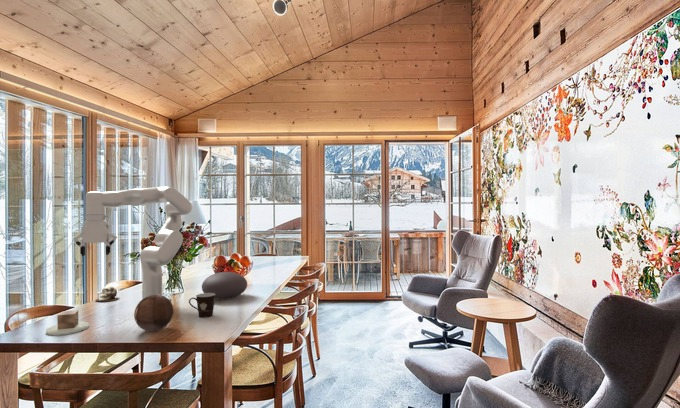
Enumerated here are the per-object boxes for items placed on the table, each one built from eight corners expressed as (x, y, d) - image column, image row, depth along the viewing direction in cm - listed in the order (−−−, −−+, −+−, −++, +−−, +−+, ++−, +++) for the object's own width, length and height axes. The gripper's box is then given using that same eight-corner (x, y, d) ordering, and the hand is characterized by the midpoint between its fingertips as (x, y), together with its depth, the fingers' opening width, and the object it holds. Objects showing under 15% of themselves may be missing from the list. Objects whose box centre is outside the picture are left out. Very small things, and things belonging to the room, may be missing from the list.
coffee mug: (219, 314, 187) (219, 293, 187) (206, 319, 180) (205, 297, 180) (201, 311, 192) (200, 291, 192) (187, 316, 184) (187, 295, 184)
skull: (109, 301, 212) (98, 286, 213) (98, 312, 214) (87, 298, 215) (126, 295, 223) (115, 281, 225) (115, 306, 225) (105, 293, 227)
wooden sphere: (174, 323, 173) (174, 290, 174) (171, 333, 159) (171, 297, 159) (137, 327, 169) (137, 292, 169) (131, 338, 154) (130, 300, 155)
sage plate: (92, 322, 176) (92, 320, 176) (83, 332, 161) (83, 329, 161) (53, 326, 170) (53, 323, 170) (40, 337, 156) (40, 334, 156)
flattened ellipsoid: (202, 295, 228) (202, 270, 228) (245, 292, 236) (245, 267, 236) (200, 305, 205) (200, 277, 205) (248, 301, 212) (248, 274, 212)
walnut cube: (78, 323, 170) (78, 310, 170) (74, 327, 164) (74, 313, 164) (62, 325, 168) (62, 311, 168) (57, 329, 162) (57, 315, 162)
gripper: (118, 217, 186) (118, 253, 186) (75, 218, 180) (76, 255, 180) (115, 218, 179) (115, 255, 179) (71, 218, 173) (71, 257, 173)
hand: (95, 255), depth 179 cm, fingers open, 9 cm apart
